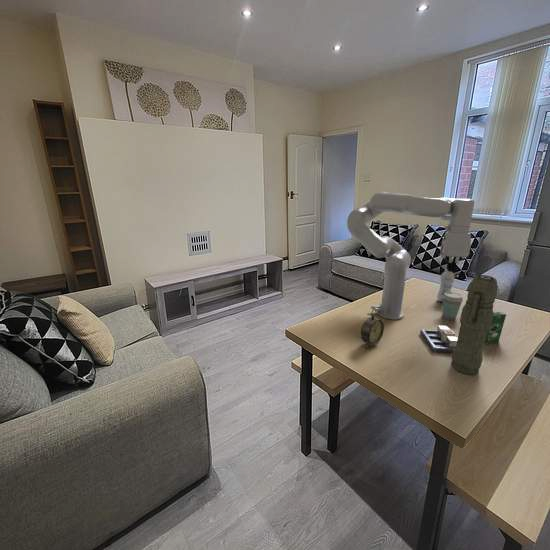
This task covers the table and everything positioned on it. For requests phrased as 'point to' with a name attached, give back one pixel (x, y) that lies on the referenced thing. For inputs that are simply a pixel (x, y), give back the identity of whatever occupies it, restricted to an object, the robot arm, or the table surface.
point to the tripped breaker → (447, 334)
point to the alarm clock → (372, 330)
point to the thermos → (474, 325)
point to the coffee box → (495, 328)
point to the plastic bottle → (445, 284)
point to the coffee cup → (451, 305)
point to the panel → (439, 340)
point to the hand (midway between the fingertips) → (450, 270)
